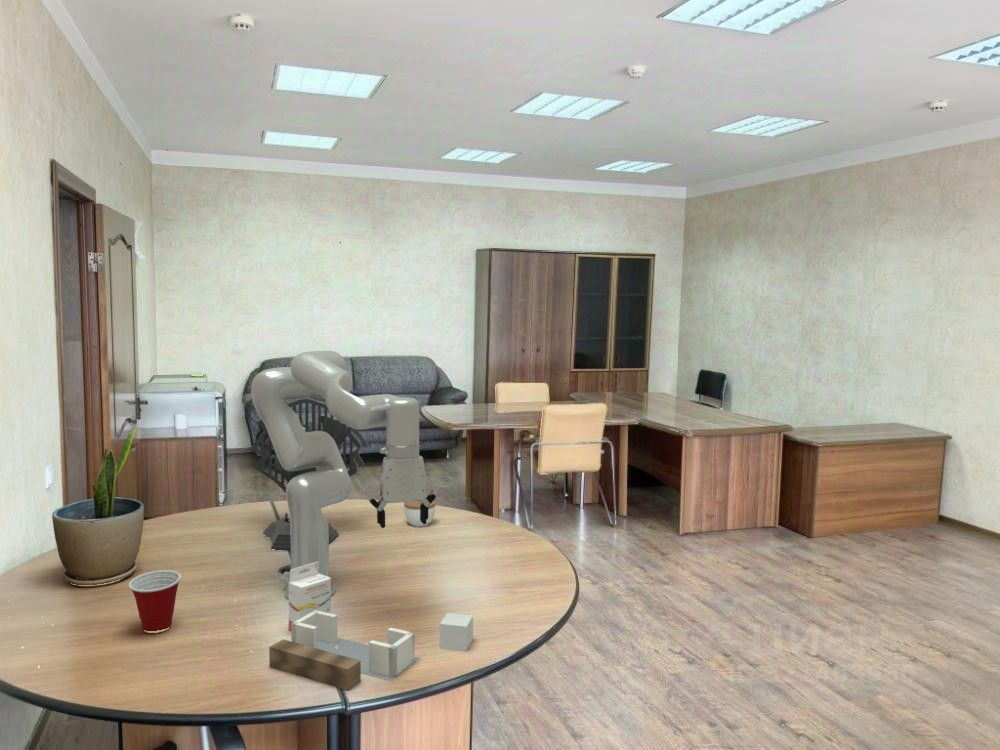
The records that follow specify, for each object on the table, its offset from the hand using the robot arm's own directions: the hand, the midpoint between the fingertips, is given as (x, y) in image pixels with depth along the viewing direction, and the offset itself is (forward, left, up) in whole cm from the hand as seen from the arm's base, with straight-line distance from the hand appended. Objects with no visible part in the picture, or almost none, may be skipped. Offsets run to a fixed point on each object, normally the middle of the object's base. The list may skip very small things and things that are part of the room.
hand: (402, 524), depth 172 cm
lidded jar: (-39, +72, -24) cm, 85 cm away
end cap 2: (+9, -18, -24) cm, 31 cm away
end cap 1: (-11, -18, -24) cm, 32 cm away
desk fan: (-62, +40, -24) cm, 77 cm away
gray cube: (+16, -3, -25) cm, 30 cm away
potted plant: (-89, -11, -24) cm, 93 cm away
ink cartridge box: (-18, -11, -24) cm, 32 cm away
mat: (-1, -18, -24) cm, 30 cm away
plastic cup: (-49, -27, -24) cm, 61 cm away
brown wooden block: (-3, -28, -25) cm, 38 cm away
